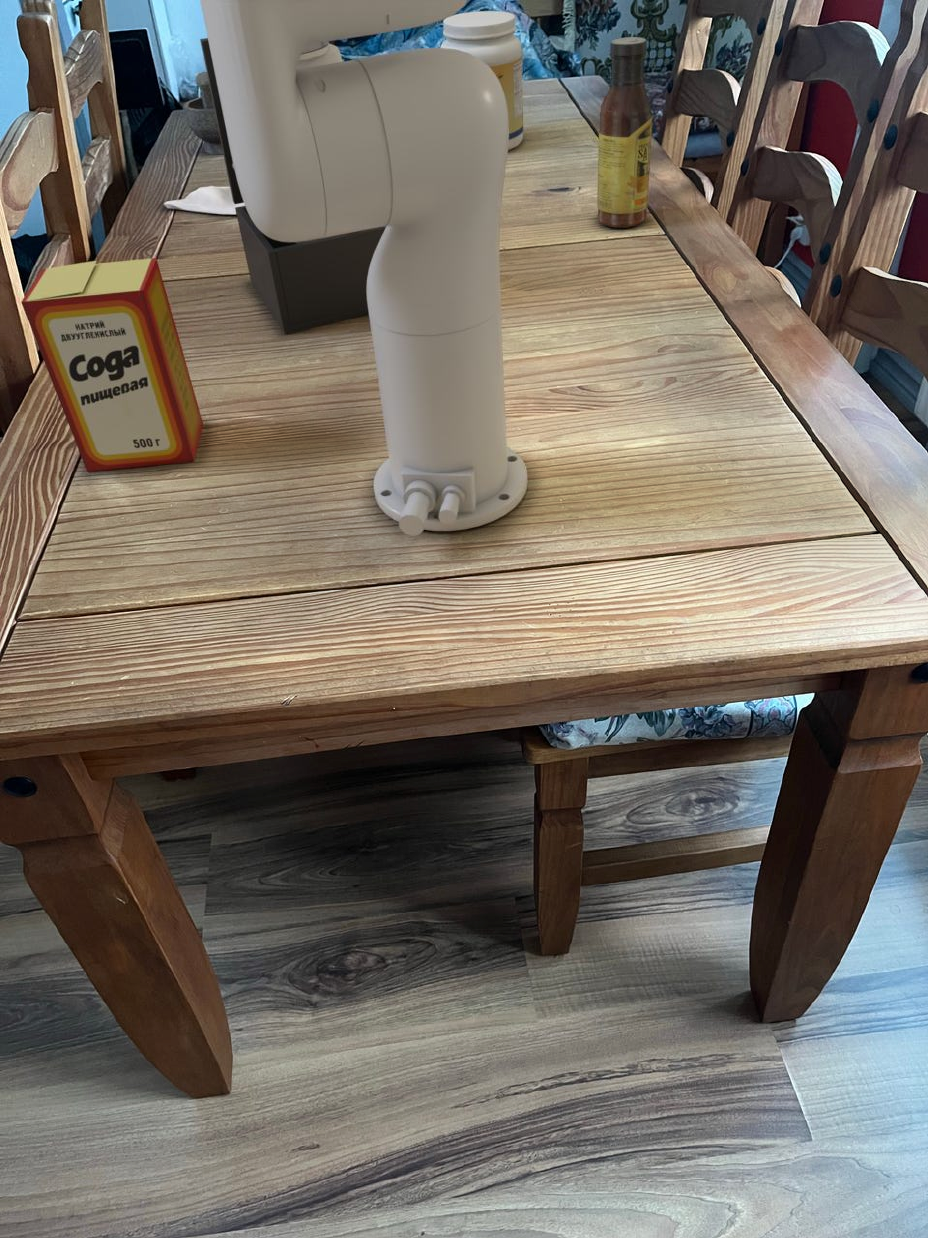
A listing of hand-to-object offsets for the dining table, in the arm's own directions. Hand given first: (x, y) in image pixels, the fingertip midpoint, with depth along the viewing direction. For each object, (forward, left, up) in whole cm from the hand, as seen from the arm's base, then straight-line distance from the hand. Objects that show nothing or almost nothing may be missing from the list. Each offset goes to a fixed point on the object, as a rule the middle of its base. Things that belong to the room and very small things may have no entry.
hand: (319, 227), depth 103 cm
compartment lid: (+8, +5, +9) cm, 13 cm away
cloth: (+34, +20, -9) cm, 41 cm away
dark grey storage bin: (+2, +1, -8) cm, 9 cm away
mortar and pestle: (+58, +33, -9) cm, 68 cm away
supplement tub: (+57, -10, -9) cm, 59 cm away
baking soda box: (-31, +9, -9) cm, 33 cm away
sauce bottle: (+24, -32, -9) cm, 41 cm away
